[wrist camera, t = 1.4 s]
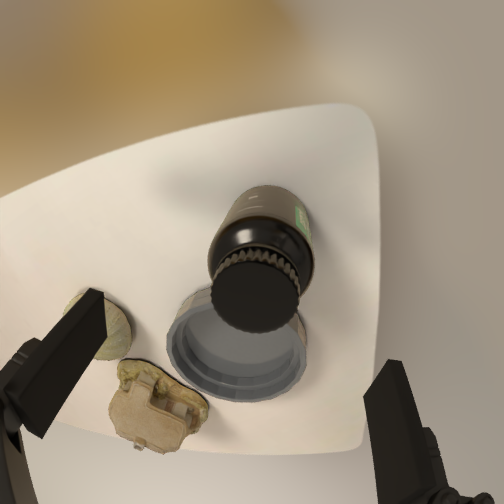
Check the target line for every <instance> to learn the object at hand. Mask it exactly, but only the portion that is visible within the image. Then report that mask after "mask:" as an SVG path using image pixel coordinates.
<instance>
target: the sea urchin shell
mask: <svg viewBox="0 0 504 504" xmlns="http://www.w3.org/2000/svg"><path fill="white" fill-rule="evenodd" d="M84 294H85V293H81V294H80V295H78V296H76V297H74V298H73V299H72V300H71V301H70V303H69V304H68V305H67V306H66V308H65V310H64V313H63V316H64V315H65V314H66V313H67V312H68V311H69V310H70V309H71V308H72V306H73V305H74V304H75V303H76V302H77V301H78V300H79V299H80V298H81V297H82V296H83V295H84ZM104 303H105V315H106V326H107V336H108V337H107V339H106V340H105V342H104V343H103V345H102V346H101V347H100V349H99V350H98V352H97V353H96V355H95V356H94V358H93V359H96V360H105V361H106V360H108V361H109V360H115V359H119V358H121V357H123V356H124V355H126V354H127V352H128V351H129V349H130V347H131V342H132V336H131V328H130V325H129V324H128V321H127V318H126V316H125V315H124V313H123V312H122V310H120V309H119V308H118V307H116V306H115V305H114V304H113V303H111V302H109V301H107V300H106V299H104Z"/></svg>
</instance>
